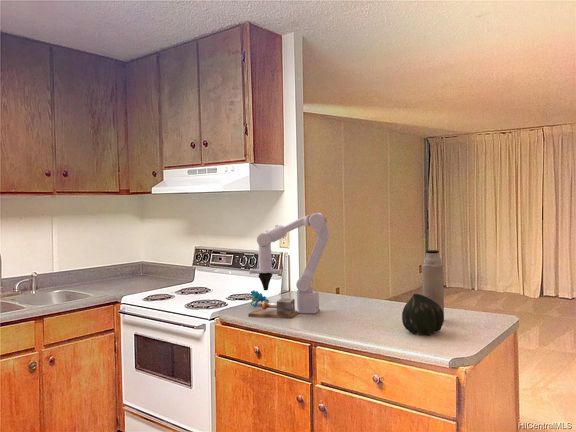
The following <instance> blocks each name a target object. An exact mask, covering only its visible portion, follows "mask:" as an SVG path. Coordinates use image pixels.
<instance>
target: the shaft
mask: <svg viewBox="0 0 576 432" xmlns="http://www.w3.org/2000/svg"><path fill="white" fill-rule="evenodd" d="M261 309H263V310H266V309H277V302H276V303H274V302H273V303H272V302H269V303H267V301H263V302H261ZM292 309H293V304H292Z"/></svg>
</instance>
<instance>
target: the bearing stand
mask: <svg viewBox="0 0 576 432" xmlns="http://www.w3.org/2000/svg"><path fill="white" fill-rule="evenodd" d="M295 301H296V299H295V298H285V297H284V298H283V297H282V298H280V299H279V300H277V301H276V303H277V308H276V309H273V308H267V309H266V310H263V309H262V308H255V309H253V310H251V311H249V313H247V314H248V317H250V316H251V318H252V317H254V318H255V317H256V318H272V319H274V318H275V319H276V318H277V319H294V317H295V316H297V314H299V313H298V311H297V309H296V307H295V305H296V304H295V303H296V302H295ZM292 304H293V309H292ZM295 309H296V310H295Z"/></svg>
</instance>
